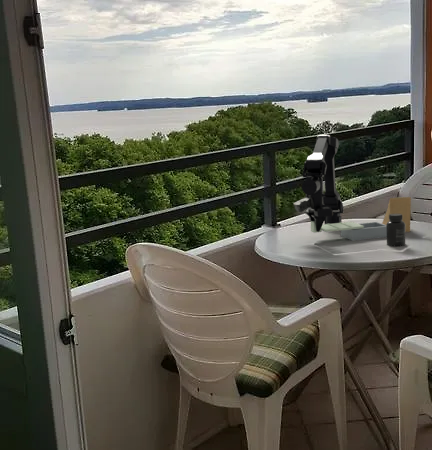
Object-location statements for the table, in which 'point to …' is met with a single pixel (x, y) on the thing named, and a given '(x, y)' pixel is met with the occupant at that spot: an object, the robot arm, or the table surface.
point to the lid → (336, 226)
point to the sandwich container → (399, 210)
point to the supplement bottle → (395, 231)
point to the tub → (366, 231)
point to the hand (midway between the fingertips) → (316, 230)
